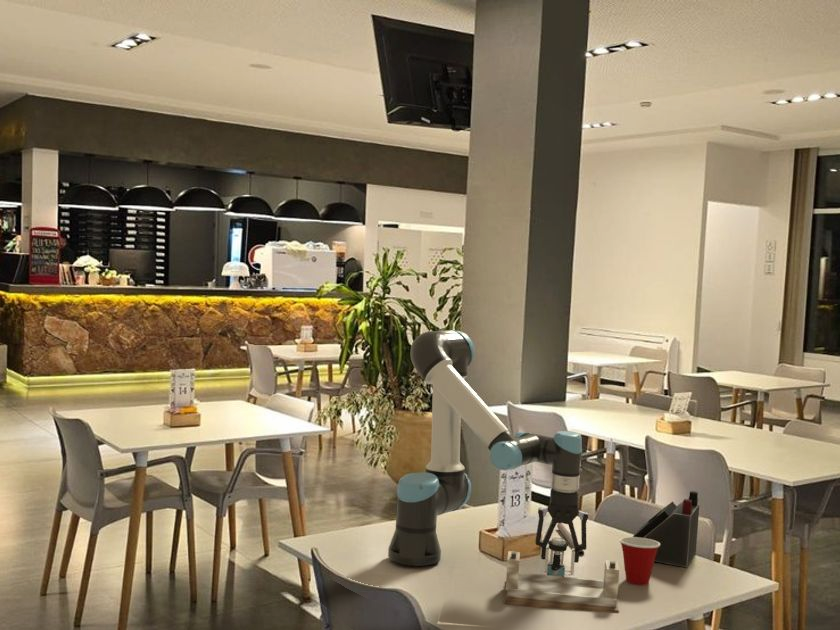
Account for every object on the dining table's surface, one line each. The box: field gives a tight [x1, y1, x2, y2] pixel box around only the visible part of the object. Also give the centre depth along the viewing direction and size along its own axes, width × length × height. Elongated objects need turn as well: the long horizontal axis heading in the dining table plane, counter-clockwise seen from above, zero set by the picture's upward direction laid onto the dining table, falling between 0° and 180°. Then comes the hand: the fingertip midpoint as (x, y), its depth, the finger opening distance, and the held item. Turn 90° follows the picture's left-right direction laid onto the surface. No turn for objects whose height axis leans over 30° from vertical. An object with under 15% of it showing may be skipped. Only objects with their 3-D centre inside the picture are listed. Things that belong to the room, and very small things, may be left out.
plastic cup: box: [619, 536, 660, 586], centre depth 244 cm, size 11×11×12 cm
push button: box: [546, 537, 571, 577], centre depth 245 cm, size 7×5×10 cm
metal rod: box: [556, 523, 585, 557], centre depth 279 cm, size 2×27×2 cm, turn 4°
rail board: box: [504, 550, 620, 613], centre depth 231 cm, size 28×17×11 cm, turn 82°
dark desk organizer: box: [632, 490, 700, 568], centre depth 266 cm, size 16×16×20 cm
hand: (558, 572), depth 245 cm, fingers closed on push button, 6 cm apart
